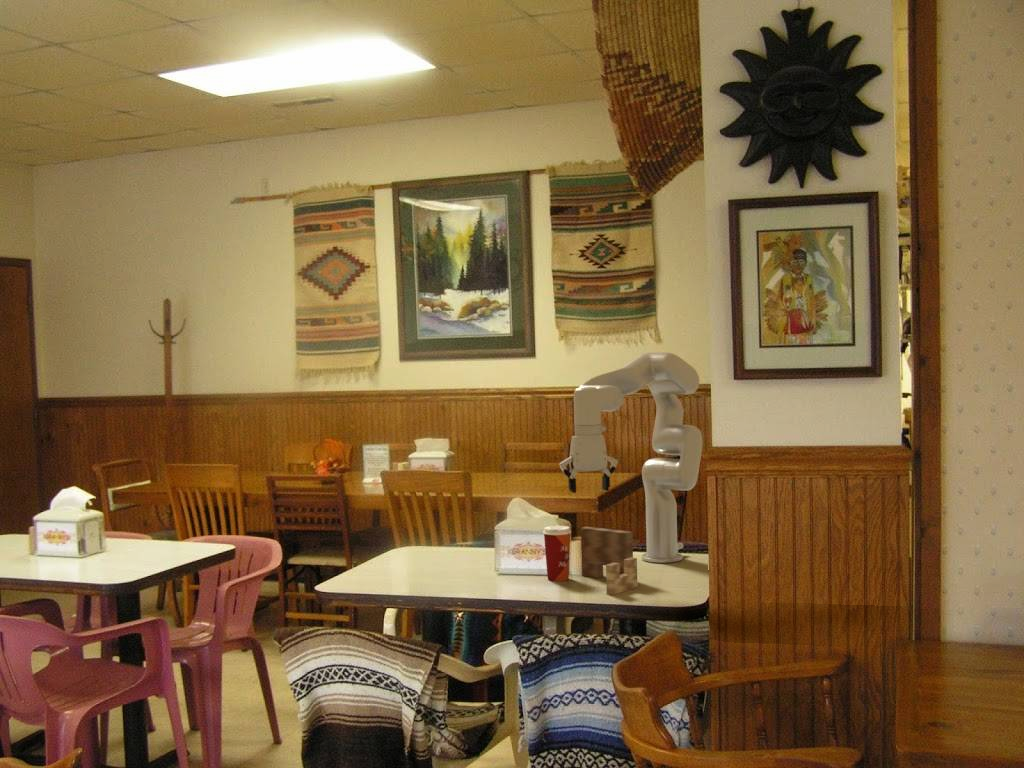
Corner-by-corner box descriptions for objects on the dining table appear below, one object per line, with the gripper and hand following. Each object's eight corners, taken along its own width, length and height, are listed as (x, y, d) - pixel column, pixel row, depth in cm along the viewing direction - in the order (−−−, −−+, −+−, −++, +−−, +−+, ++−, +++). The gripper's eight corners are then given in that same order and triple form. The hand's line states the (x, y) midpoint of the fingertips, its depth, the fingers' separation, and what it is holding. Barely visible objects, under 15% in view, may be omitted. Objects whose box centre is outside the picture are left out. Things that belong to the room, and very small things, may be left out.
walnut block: (581, 575, 309) (580, 528, 308) (588, 573, 311) (587, 526, 311) (627, 582, 298) (626, 533, 298) (633, 580, 301) (632, 531, 300)
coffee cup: (570, 582, 300) (568, 530, 300) (541, 582, 302) (540, 529, 301) (574, 576, 308) (573, 525, 308) (546, 575, 310) (545, 524, 309)
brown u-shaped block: (631, 585, 295) (630, 557, 294) (637, 586, 293) (636, 558, 293) (606, 594, 285) (606, 564, 285) (612, 595, 284) (612, 565, 284)
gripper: (612, 428, 304) (613, 487, 305) (554, 431, 299) (556, 491, 300) (621, 430, 297) (622, 491, 297) (562, 433, 292) (564, 495, 293)
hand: (589, 491), depth 299 cm, fingers open, 9 cm apart
